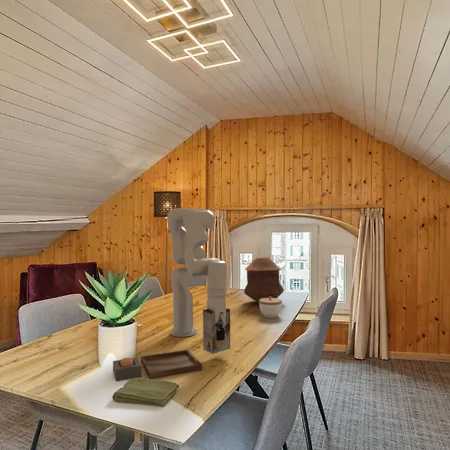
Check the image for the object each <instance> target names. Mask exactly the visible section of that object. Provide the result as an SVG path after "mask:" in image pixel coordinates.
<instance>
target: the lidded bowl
mask: <svg viewBox="0 0 450 450" xmlns="http://www.w3.org/2000/svg"><path fill="white" fill-rule="evenodd" d="M258 305H259V311H260V313H261V314H262V315H263V317H265V318H269V319H272V318H273V319H274V318H277V317H278V316H279V315H280V313H281V311H282V299H281V298H271V296H270V297H269V298H262V299H260V300H259V304H258Z"/></svg>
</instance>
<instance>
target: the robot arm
mask: <svg viewBox="0 0 450 450" xmlns="http://www.w3.org/2000/svg"><path fill="white" fill-rule="evenodd" d="M166 216H167V217H166V222H167V223H166V224H167V226H168V230H169V233H170V237H171V250H172V251H171V252H172V261H173V263H174V264H176V265H178V266H179V265H182V266H183V265H185V266H184V267H178V268H177V267H176V268H175V269H173V270H171V274H170V280H171V281H170V282H171V288H172V309H173V313H172V316H173V317H172V319H173V321H172V322H173V326H172V327H173V329H171V330H170V335H171V336H172V337H176V338H186V337H188V338H189V337H192V336H194V335H196V334H197V329H196V328H194V297H193V294H192V292H191V290H190V289H189V288H193V287H201V286H204V285H207V286H206V288H207V289H206V291H207V292H206V294H207V296H206V297H207V298H206V299H207V301H206V309H209V310H211V311H212V312H214V324H216V323H217V329H218V330H217V341H220V340H225V327H226V308H227V306H226V304H227V303H226V297H227V262H225V261H224V260H220V258H217V257H209V258H207V257H206V251H205V249H204V246H205V245H206V244H207V242H208V241H209V239H210V238H209V234H208V232H207V229H212V228H214V225H215V222H216V221H215V220H216V219H215V215H214V213H212V212H211V211H210V210H208V209H205V208H192V207H191V208H189V207H188V208H186V207H185V208H183V207H182V208H172V209H170V210H169V211H168V212H167V215H166ZM219 318H220V320H221V322H218V321H219ZM219 324H221V325H220V327H219Z"/></svg>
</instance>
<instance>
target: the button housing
mask: <svg viewBox="0 0 450 450" xmlns="http://www.w3.org/2000/svg"><path fill="white" fill-rule="evenodd" d="M132 358H133V365H131V366H125V367H121V364H120V361H121V359H117V360H113V361H112V372H114V373H113V376H114V380H115V379H116V380H115V381H116V382H120V381H126V380H130V379H134V378H138V379H140V378H142V375H143V374H142V373H143V372H142V364H141V361H140V360H139V359H138V357H137V356H136V357H132Z"/></svg>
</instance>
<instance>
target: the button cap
mask: <svg viewBox="0 0 450 450" xmlns="http://www.w3.org/2000/svg"><path fill="white" fill-rule="evenodd" d="M133 358H134V357H124V358H122V359H121V358H120V360H121V361H120V364H121V367H125V366H131V365H133Z"/></svg>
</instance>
